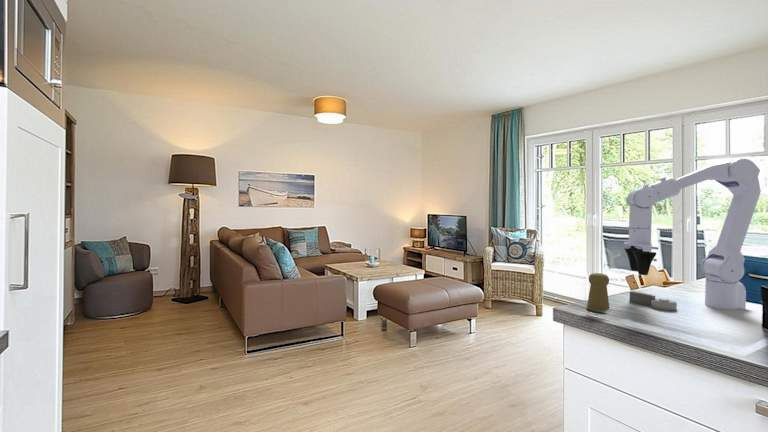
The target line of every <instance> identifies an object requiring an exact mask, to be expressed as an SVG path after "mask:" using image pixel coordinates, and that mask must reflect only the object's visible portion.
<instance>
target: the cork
mask: <svg viewBox="0 0 768 432" xmlns="http://www.w3.org/2000/svg"><path fill="white" fill-rule="evenodd" d="M588 282H589V284H590V287H589V292H588V298H587V303H586V305H587V307H588V308H586V311H587V313H588V312H589V313H591V312H592V314H597V315H607V313H605V312H602V311H598V310H608V309H610V302H609V292H608V285H609V283H610V278H609V276H608V275H607V274H604V273H600V272H596V273H595V272H594V273H591V274H590V275H589V276H588ZM590 308H592V309H590ZM594 309H596V310H594ZM597 309H598V310H597Z"/></svg>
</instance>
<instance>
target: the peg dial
mask: <svg viewBox="0 0 768 432" xmlns="http://www.w3.org/2000/svg"><path fill="white" fill-rule="evenodd" d="M629 302H630V303H635V304H639V305H644V306H649V307H650V308H652V309H655V310H659V311H664V312H666V311H667V312H676V311H677V310H678V309H677V307H678V306H677V305H678V303H677V301H675V300H672V299H671V300H670V299H668V298H662V297H660V298H656V295H655V294H653V293H649V292H643V291H639V290H631V289H630V291H629Z"/></svg>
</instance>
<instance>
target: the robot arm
mask: <svg viewBox="0 0 768 432" xmlns="http://www.w3.org/2000/svg"><path fill="white" fill-rule="evenodd" d="M760 172H761V169H760V168H759V167H758V166H757V165H756V164H755V162H753V161H752V160H751V159H747V158H739V159H736V160H731V161H722V162H718V163H714V164H710V165H707V166H704V167H702V168H699V169H696V170H695V171H692V172H690V173H687V174H685V175H683V176H680V177H678V178H673V177H667V178H666V177H665V176H663V177H660V178H659V179H658V181H656V182H654V183H653V182H652V183H651V184H644V185H642V188H638V189H637V188H636V189H633V190H631V191H630V192H629V193H628V194H627V197H626V198H625V200H626V203H627V205H628V206H629V213H628V215H629V216H628V218H629V220H628V241H624V242H623V243H624V245H626V246H627V245H628V247H624V251H625V253H626V254H627V255H626V256H627V257H628V261H629V266H630V267H629V268H630V271H631V272H633V271H634V272H638V275H639V276H648V275H649V271H650V268H651V264H652V262H653V260H654V259H655V257H656V256H657V252H654V251H652V248H653V247H652V246H653V245H652V221H653V220H652V216H653V215H652V212H653V211H652V209H653V206H654V205H655V204H657V203H659V202H662V201H665V200H668V199H670V198H672V197H673V198H674V197H675V196H678V195H679V194H680V192H681V190H682V189H684V188H688V187H690V186H693V185H695V184H698V183H702V182H706V181H708V180H709V181H715V182H717V183H719V184H720V185H721V186H723V187H725V188H727V189H728V190H729V192H730V193H731V194H732V200H731V201H730V205H729V208H728V211H727V213H726V217H725V219H724V222H723V225H722V228H721V231H720V234H719V237H718V240H717V243H716V245H715V246H714V247H713V248H711V249H710V250H709V252H708V254H707V256H706V257H705V258H703V260H702V261H701V263H700V268H701V271H702V272H703V274H704V275H705V285H704V287H705V288H704V289H705V292H704V305H705V306H707V307H711V308H716V309H720V310H721V309H722V310H723V309H724V310H737V309H743V310H746V308H747V307H746V306H747V303H746V302H747V291H746V287H745V285H744V284H743V283H742V282H741V281H740V280H741V279H742V278H743V277H744V275H745V267H744V264H745V263H744V262H745V260H746V259H745V257H744V255H743V254H742V252H741V249H742V247H743V245H744V242H745V239H746V236H747V232H748V230H749V227H750V224H751V222H752V219H753V216H754V213H755V210H756V207H757V204H758V202H759V198H760V196H761V186H760V181H759V174H760Z"/></svg>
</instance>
